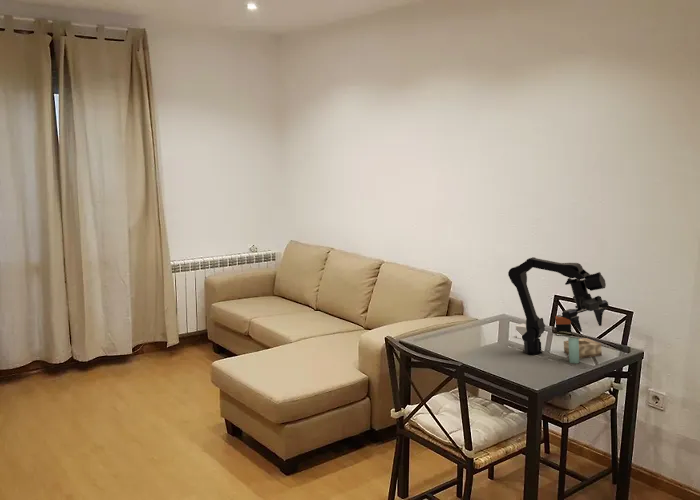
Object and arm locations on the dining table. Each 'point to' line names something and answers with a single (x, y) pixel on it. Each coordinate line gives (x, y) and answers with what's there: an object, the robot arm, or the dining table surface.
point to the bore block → (586, 348)
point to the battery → (562, 324)
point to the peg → (573, 350)
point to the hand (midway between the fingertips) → (590, 328)
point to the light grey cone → (521, 329)
